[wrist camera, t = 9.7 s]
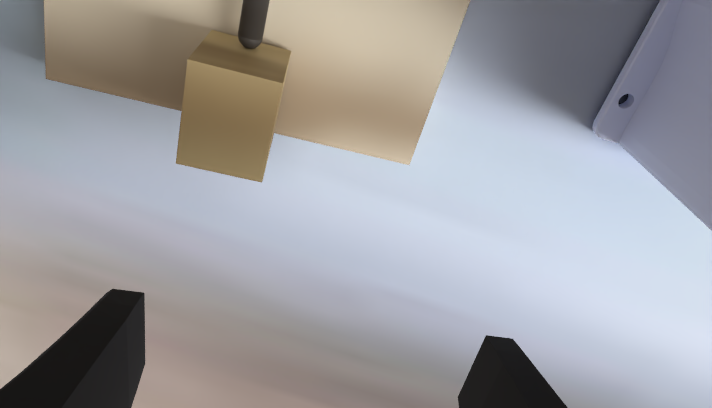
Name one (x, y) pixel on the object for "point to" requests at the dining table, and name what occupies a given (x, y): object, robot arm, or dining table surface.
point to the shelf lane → (284, 30)
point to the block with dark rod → (233, 98)
